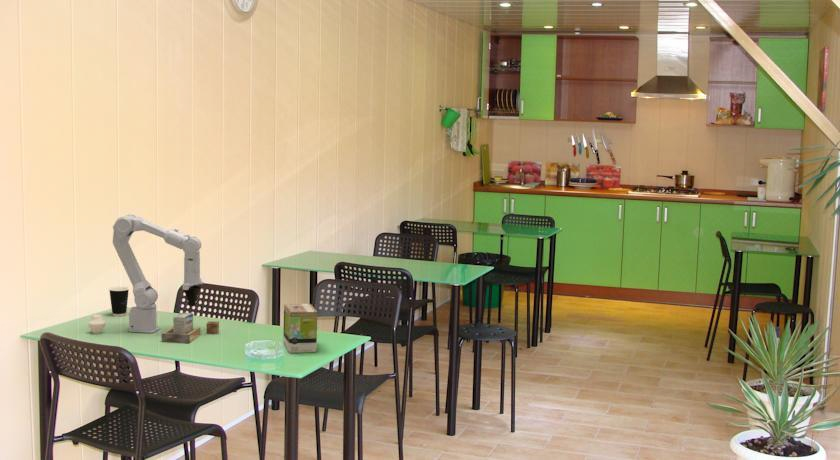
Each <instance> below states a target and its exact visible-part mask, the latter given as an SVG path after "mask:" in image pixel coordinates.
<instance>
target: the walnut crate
mask: <svg viewBox="0 0 840 460" xmlns="http://www.w3.org/2000/svg"><path fill="white" fill-rule="evenodd" d="M205 326H206V327H205V329H206V332H205V333H206V335H218V334H219V332H220V321H210V320H209V321H207V322H206V325H205Z"/></svg>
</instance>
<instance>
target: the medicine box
mask: <svg viewBox="0 0 840 460" xmlns="http://www.w3.org/2000/svg"><path fill="white" fill-rule="evenodd" d="M172 324H173V327H174V333H176V334H188V333H190V332H191V331H193V330H194V313H192V312H182V313H179V314H177V315H175V316H173V323H172Z"/></svg>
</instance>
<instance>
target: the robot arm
mask: <svg viewBox="0 0 840 460" xmlns="http://www.w3.org/2000/svg"><path fill="white" fill-rule="evenodd" d="M112 229H113V231H112V233H113V234H112V245H113V247H114V249H115V251H116V253H117V256H118V257H119V260H120V262H121V264H122V266H123V267H124V270H125V272H126V275H127V277H128V279H129V281H130V282H131V284H132V293H133V296H134V304H135V306H132V307H131V308H130V309H129V313H128V325H129V326H128V327H129V328H128V332H129V333H130V332H131V333H146V334H147V333H149V334H153V333H156V332H157V331H159V330H160V329H161V327H160V326H159V327H158V326H157V305H156V301H157V300H158V299H159V294H158V292H157V290H156V289H155V288H154V287H152V284H151V283H150V282H149V281H148V280H147V278H146V277H145V274H144V273H143V270H142V268H141V266H140V264H139V262H138V260H137V258H136V256H135V253H134V251H133V249H132V247H131V245H130V243H129V242H130V239H131V237H132V235H133V234H134V232H140V231H141V232H142V231H143V232H146V233H149V234H152V235H154V236H157V237H159V238H162V239H163V240H164V242H165V244H168V245H170V246H172V247H175V248H177V249H180V250H182V252H184V257H183V273H184V274H183V275H184V276H183V279H184V280H183V284H182V285H181V286H182V288H181V289H182V290H183V293H184V294H185V297H186V299H187V304H188V307H195V306H196V305H197V301H198V300H197V299H198V296H199V293H200V291H201V289H202V287H201V285H203V284H204V281H202V278H201V256H200V253H201V252H200V250H201V248H202V242H201V240H200V239H199V238H198V237H197V236H191V234H189V233H188V234H186V233H183V232H180V231H179V229H178V228H170V229H165V228H163V227H161V226H159V225H157V224H155V223H153V222H152V221H149V220H147V219H144V218H142V217H141V216H136V215H135V214H127V215H125V216H120V217H118V218H117V219H116V220H115V222H114V224H113V226H112Z"/></svg>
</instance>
